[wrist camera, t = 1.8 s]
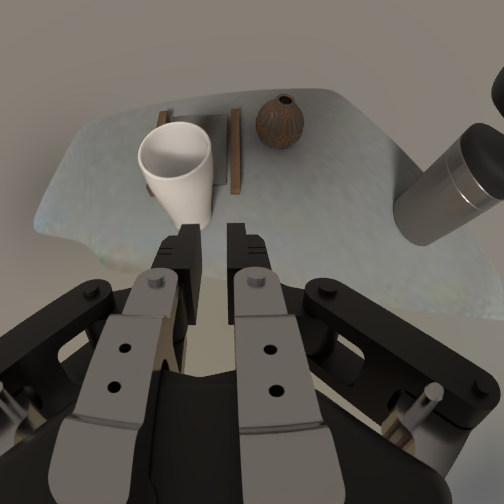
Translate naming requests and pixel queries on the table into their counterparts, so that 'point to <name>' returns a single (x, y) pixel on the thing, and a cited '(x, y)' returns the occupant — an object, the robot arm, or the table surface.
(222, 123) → the cradle
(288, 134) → the vase
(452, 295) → the table surface
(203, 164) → the white cup
